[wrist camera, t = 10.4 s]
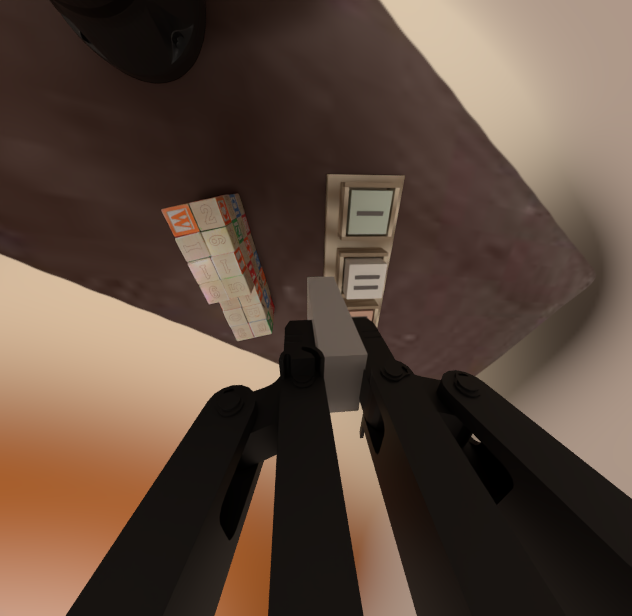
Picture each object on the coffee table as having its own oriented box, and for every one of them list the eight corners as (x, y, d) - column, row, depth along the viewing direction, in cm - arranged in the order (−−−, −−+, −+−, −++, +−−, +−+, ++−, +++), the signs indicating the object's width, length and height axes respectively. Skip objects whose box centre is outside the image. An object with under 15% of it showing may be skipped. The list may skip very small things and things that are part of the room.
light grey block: (346, 189, 34) (352, 190, 31) (384, 190, 35) (393, 190, 32) (343, 230, 37) (348, 234, 34) (378, 229, 38) (386, 234, 35)
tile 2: (345, 257, 37) (350, 265, 34) (379, 257, 38) (388, 264, 34) (342, 290, 40) (346, 299, 37) (374, 289, 41) (381, 298, 37)
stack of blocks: (275, 307, 45) (270, 346, 35) (246, 313, 46) (231, 354, 35) (238, 192, 35) (214, 196, 24) (199, 200, 35) (158, 208, 24)
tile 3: (338, 303, 44) (342, 312, 41) (367, 302, 45) (373, 311, 42) (336, 327, 47) (339, 338, 44) (364, 326, 48) (369, 337, 45)
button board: (326, 174, 35) (331, 173, 30) (400, 175, 36) (415, 175, 31) (321, 331, 49) (324, 346, 45) (373, 329, 50) (381, 343, 46)
